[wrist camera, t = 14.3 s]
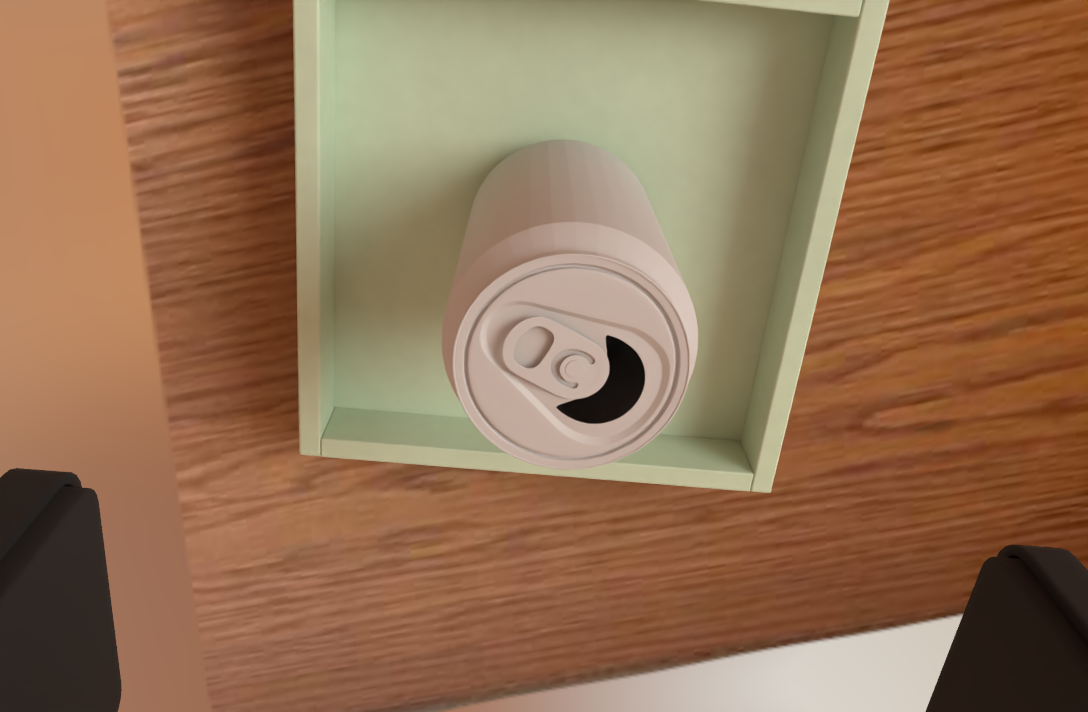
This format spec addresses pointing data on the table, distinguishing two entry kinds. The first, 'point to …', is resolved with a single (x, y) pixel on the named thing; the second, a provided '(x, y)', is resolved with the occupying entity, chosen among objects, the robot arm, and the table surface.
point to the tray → (582, 115)
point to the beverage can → (567, 311)
